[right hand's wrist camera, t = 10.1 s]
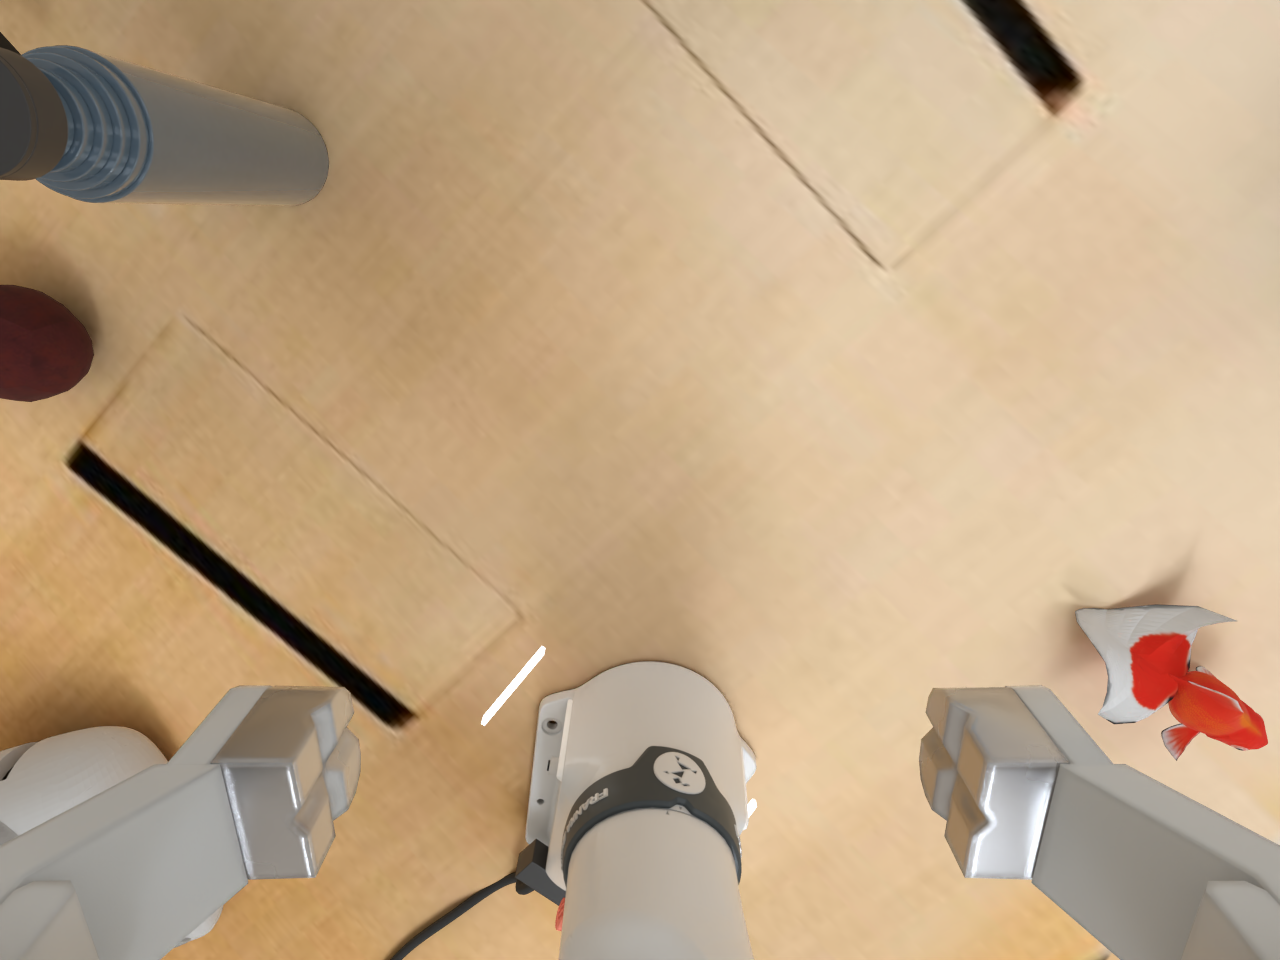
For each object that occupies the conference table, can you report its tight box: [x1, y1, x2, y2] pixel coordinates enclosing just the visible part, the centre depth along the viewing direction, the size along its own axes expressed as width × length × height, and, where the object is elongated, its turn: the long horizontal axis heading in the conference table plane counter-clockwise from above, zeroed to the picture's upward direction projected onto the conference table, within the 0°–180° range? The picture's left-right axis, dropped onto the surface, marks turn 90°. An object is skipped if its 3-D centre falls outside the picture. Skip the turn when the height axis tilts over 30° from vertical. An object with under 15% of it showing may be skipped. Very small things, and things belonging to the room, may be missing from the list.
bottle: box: [21, 45, 329, 206], centre depth 37 cm, size 6×6×24 cm
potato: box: [0, 285, 94, 402], centre depth 48 cm, size 7×8×7 cm
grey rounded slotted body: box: [0, 726, 223, 948], centre depth 58 cm, size 22×23×15 cm
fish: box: [1075, 605, 1268, 760], centre depth 57 cm, size 11×16×10 cm
